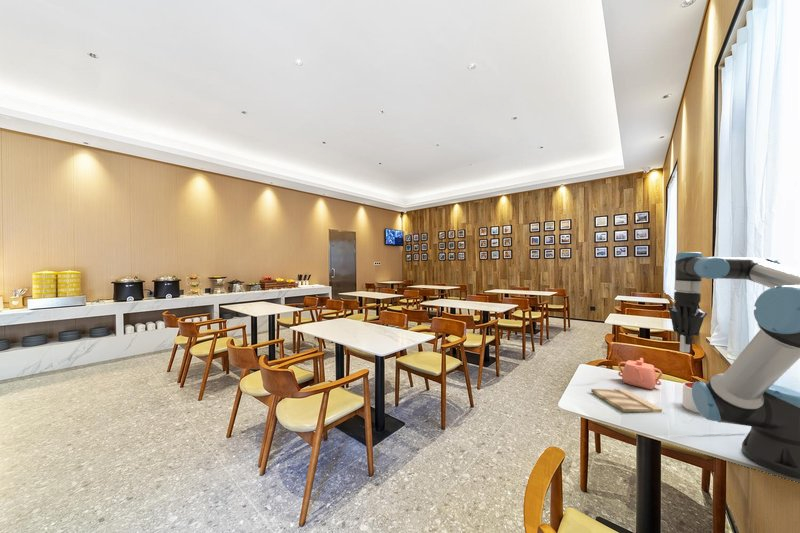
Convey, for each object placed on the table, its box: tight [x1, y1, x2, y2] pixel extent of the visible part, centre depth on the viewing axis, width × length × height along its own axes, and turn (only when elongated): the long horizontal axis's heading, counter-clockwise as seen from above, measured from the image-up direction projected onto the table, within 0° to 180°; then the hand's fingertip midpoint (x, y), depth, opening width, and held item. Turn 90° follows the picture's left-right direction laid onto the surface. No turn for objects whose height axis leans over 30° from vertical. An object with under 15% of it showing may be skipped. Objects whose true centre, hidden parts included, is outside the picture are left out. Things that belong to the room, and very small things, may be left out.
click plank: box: [590, 388, 652, 412], centre depth 130 cm, size 18×12×1 cm, turn 5°
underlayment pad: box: [585, 389, 666, 416], centre depth 130 cm, size 20×19×2 cm
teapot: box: [617, 357, 663, 390], centre depth 149 cm, size 15×17×13 cm
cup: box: [681, 381, 700, 414], centre depth 125 cm, size 10×10×10 cm
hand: (684, 351), depth 119 cm, fingers closed
